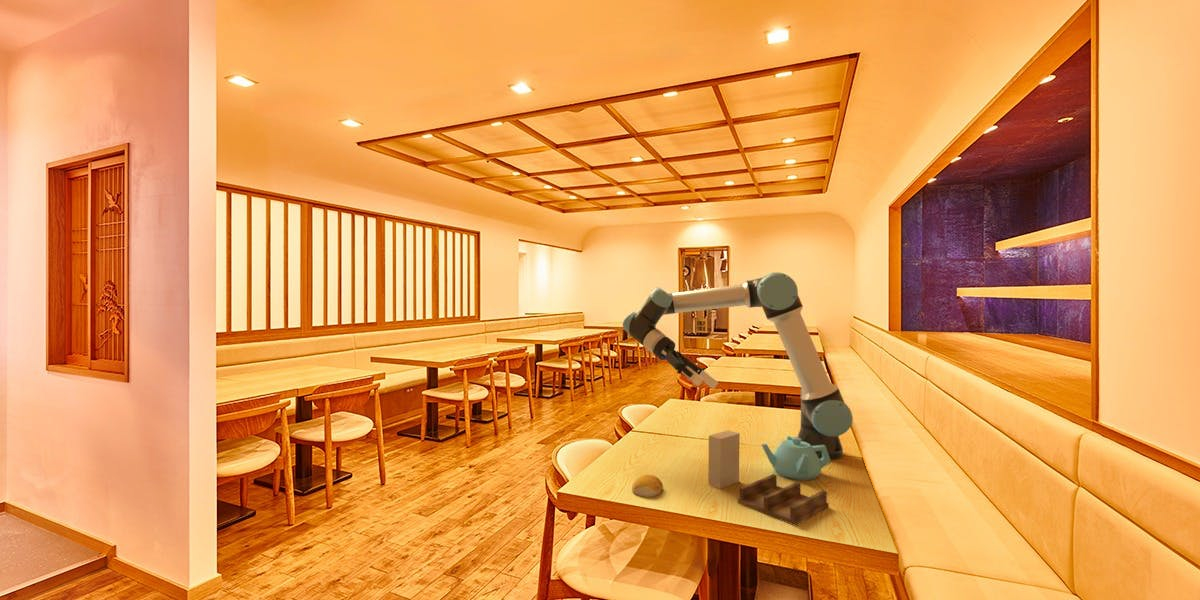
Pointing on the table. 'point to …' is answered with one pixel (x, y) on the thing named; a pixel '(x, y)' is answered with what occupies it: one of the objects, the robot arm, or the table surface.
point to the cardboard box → (723, 459)
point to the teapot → (797, 459)
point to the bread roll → (647, 486)
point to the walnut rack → (782, 500)
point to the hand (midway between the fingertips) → (708, 384)
